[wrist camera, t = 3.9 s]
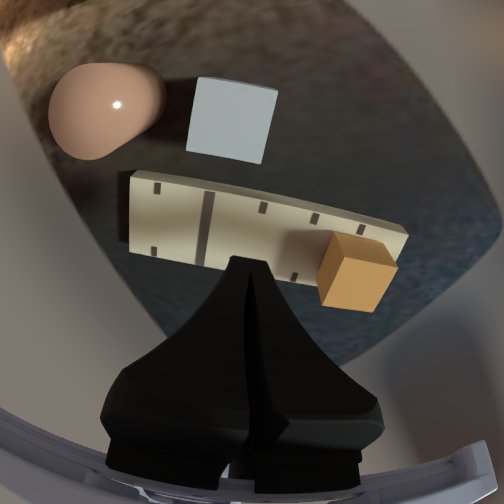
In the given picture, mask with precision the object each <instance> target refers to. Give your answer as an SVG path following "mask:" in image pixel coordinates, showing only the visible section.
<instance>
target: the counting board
mask: <svg viewBox="0 0 504 504" xmlns="http://www.w3.org/2000/svg"><path fill="white" fill-rule="evenodd" d="M334 232H338V233H342V234H346V235H351V236H355V237H359V238H364V239H368V240H372V241H376V242H381V243H384V245H385V247H386V248H387V250H388V251H389V253H390V255H391V256H392V258H393V260H394V262H396V260H397V258H398V256H399V254H400V252H401V250H402V248H403V246H404V244H405V242H406V240H407V238H408V236H409V235H408V233H407V232H406V231H405V230H404V228H403V227H402V226H401V225H398V224H395V223H391V222H388V221H384V220H380V219H377V218H373V217H369V216H365V215H362V214H358V213H354V212H350V211H346V210H342V209H338V208H334V207H330V206H326V205H322V204H317V203H313V202H309V201H305V200H300V199H296V198H291V197H287V196H282V195H278V194H273V193H268V192H263V191H259V190H254V189H249V188H244V187H239V186H233V185H228V184H223V183H217V182H212V181H206V180H201V179H195V178H189V177H183V176H177V175H171V174H164V173H158V172H151V171H144V170H137V171H136V172H135V173H134V174H133V175H132V176H131V177H130V201H129V245H130V252H134V253H138V254H143V255H148V256H154V257H159V258H164V259H169V260H174V261H179V262H184V263H190V264H195V265H200V266H205V267H211V268H216V269H222V270H225V269H226V267H227V265H228V262H229V258H230V257H231V256H233V255H236V256H241V257H247V258H253V259H258V260H264V261H267V263H268V265H269V267H270V269H271V272H272V274H273V276H274V278H275V279H278V280H283V281H289V282H295V283H301V284H307V285H313V286H317V281H316V275H317V273H318V271H319V268H320V266H321V263H322V261H323V258H324V256H325V254H326V251H327V249H328V246H329V244H330V241H331V239H332V236H333V233H334Z"/></svg>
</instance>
